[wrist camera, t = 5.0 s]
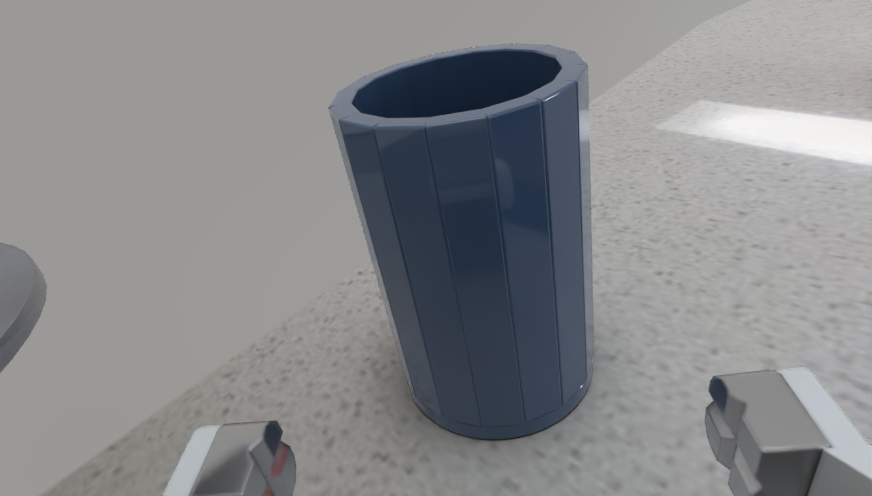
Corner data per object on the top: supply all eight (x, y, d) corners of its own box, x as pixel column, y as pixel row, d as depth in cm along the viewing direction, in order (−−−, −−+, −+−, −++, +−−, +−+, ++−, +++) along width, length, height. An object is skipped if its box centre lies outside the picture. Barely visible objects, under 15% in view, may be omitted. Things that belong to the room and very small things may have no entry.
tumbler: (401, 449, 16) (304, 146, 11) (413, 315, 22) (351, 67, 17) (614, 429, 16) (617, 95, 11) (572, 296, 21) (560, 31, 16)
